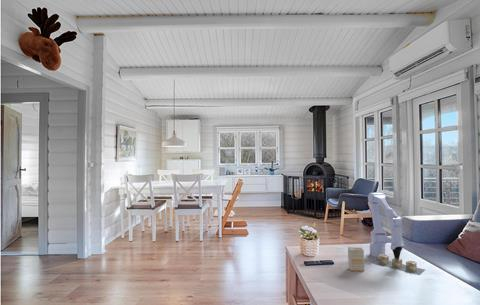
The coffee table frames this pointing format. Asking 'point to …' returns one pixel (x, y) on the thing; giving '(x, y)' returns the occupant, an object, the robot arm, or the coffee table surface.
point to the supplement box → (356, 259)
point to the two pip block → (383, 259)
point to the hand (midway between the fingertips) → (396, 258)
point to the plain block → (397, 262)
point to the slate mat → (403, 268)
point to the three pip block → (411, 265)
